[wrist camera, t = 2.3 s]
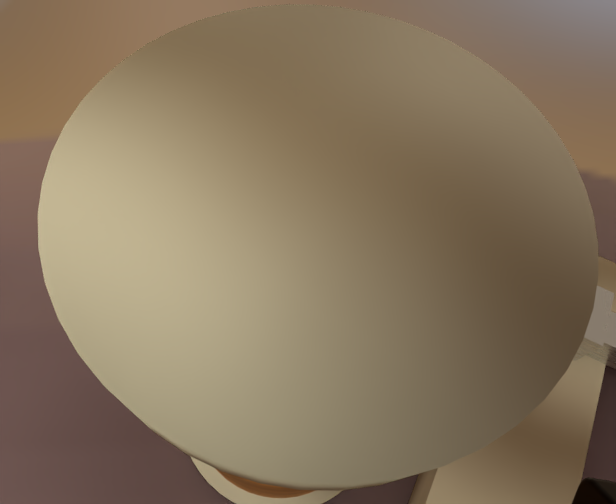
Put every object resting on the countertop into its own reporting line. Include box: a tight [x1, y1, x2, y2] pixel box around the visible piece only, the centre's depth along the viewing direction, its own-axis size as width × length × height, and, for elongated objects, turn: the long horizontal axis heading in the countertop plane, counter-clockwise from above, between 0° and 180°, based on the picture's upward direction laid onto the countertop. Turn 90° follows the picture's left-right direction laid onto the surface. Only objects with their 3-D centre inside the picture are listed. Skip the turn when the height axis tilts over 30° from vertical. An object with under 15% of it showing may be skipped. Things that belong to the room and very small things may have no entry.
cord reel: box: [38, 5, 598, 504], centre depth 12 cm, size 6×6×13 cm
